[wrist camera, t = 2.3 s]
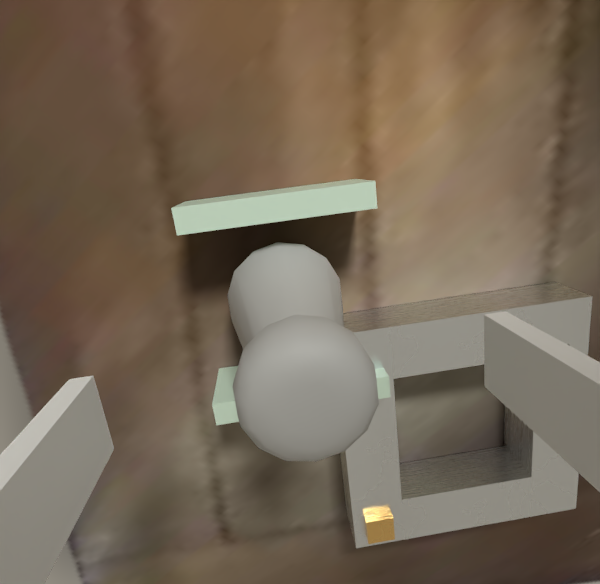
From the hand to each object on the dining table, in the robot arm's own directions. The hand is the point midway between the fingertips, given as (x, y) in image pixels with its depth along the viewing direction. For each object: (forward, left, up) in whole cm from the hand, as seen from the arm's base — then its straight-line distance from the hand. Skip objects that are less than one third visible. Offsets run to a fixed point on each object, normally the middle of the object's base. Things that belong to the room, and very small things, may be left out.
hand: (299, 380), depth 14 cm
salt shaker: (0, 0, -11) cm, 11 cm away
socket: (+9, +9, -10) cm, 16 cm away
